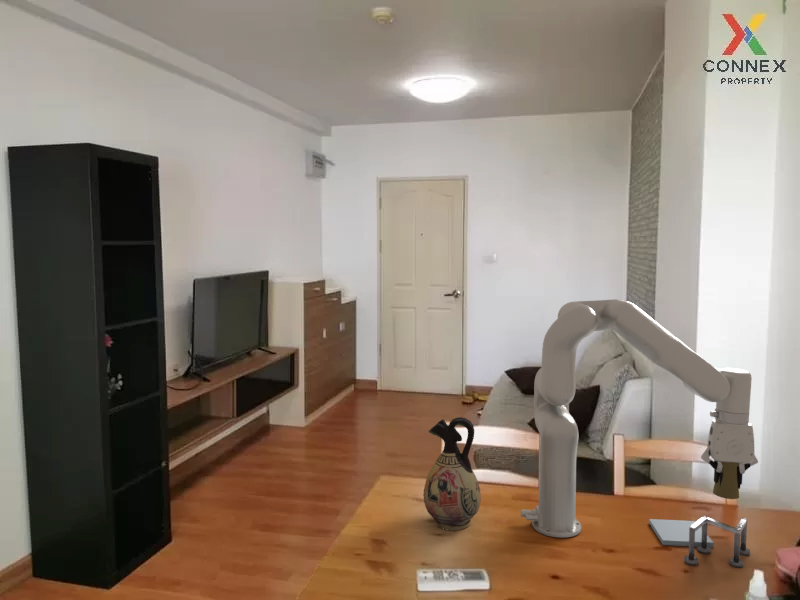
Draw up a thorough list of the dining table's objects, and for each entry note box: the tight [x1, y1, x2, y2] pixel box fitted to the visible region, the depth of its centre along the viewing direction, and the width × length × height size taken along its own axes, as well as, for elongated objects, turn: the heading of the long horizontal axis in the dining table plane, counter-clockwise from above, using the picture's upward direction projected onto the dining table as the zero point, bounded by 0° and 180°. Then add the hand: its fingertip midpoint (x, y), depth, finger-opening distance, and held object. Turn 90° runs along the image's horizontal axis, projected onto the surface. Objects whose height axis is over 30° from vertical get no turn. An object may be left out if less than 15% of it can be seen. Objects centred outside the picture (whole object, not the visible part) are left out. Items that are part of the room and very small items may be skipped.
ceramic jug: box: [422, 416, 482, 531], centre depth 161 cm, size 17×15×30 cm
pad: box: [648, 518, 715, 548], centre depth 155 cm, size 12×12×1 cm
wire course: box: [683, 515, 751, 569], centre depth 144 cm, size 17×9×9 cm, turn 83°
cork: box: [712, 461, 740, 500], centre depth 156 cm, size 6×6×11 cm
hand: (727, 485), depth 156 cm, fingers closed on cork, 3 cm apart
